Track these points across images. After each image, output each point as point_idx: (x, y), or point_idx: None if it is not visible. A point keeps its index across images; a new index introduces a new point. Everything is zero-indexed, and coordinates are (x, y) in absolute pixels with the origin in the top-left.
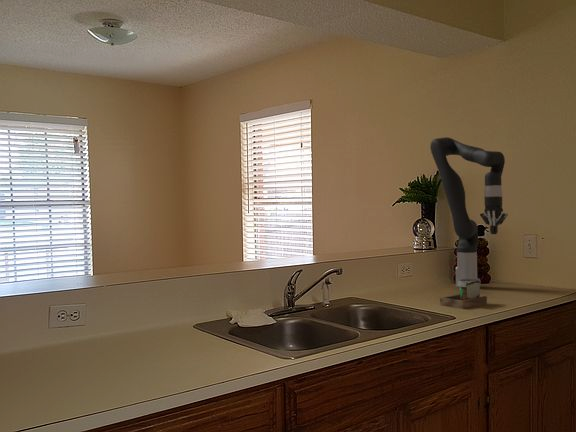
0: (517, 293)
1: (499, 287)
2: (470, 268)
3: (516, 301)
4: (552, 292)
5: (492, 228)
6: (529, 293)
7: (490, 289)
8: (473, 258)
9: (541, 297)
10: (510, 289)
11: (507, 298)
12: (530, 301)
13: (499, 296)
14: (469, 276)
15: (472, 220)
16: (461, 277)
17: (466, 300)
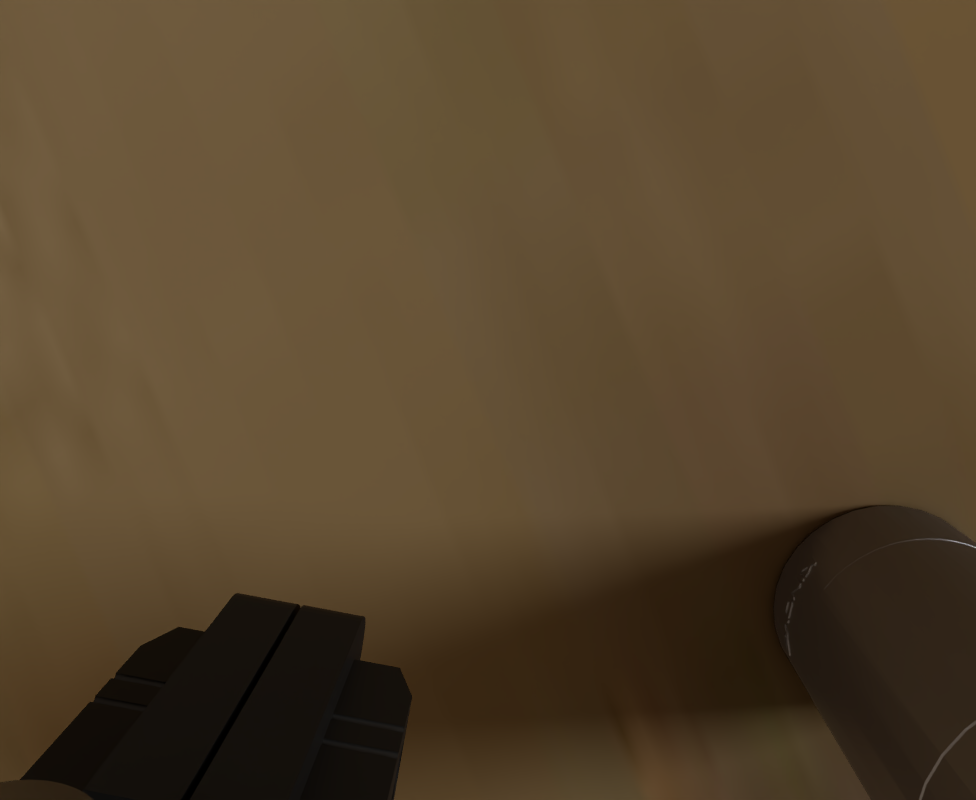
0: (294, 493)
1: (581, 744)
2: (905, 638)
3: (106, 27)
4: (66, 712)
5: (233, 737)
6: (204, 553)
7: (611, 584)
8: (939, 768)
9: (24, 394)
10: (444, 683)
11: (250, 149)
12: (5, 111)
13: (363, 220)
14: (873, 579)
15: None
16: (969, 551)
17: None
